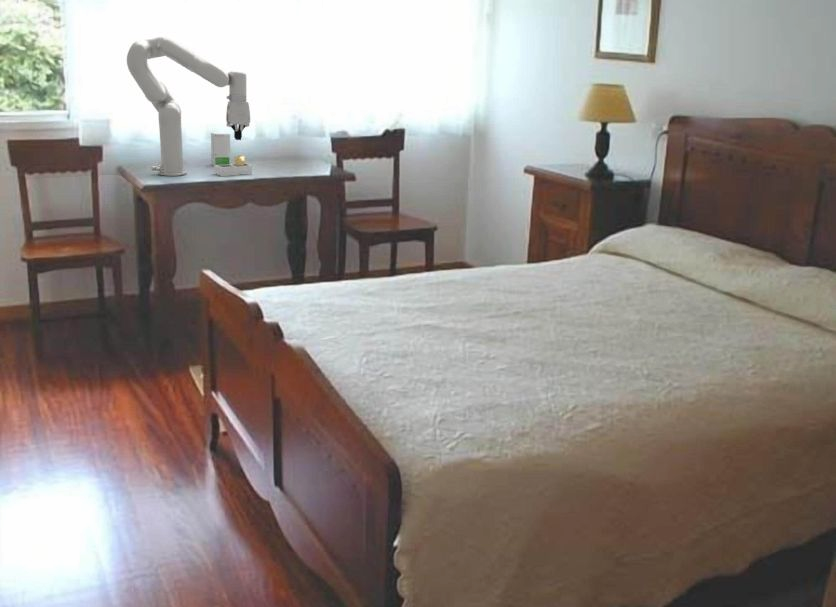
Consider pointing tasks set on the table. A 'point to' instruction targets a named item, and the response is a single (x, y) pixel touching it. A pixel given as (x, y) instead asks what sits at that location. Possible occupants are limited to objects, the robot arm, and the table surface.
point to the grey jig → (232, 169)
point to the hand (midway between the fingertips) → (238, 139)
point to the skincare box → (220, 148)
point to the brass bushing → (239, 161)
